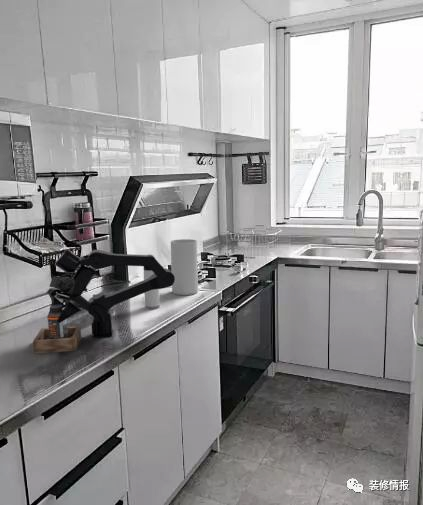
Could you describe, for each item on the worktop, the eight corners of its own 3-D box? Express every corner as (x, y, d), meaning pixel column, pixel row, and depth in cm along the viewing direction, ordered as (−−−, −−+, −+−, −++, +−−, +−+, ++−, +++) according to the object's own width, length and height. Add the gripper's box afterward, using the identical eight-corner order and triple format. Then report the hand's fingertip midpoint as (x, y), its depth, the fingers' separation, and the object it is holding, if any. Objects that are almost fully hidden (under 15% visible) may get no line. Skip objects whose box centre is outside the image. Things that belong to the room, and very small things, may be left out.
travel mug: (163, 306, 199) (161, 260, 196) (153, 310, 194) (151, 263, 191) (151, 304, 203) (149, 259, 199) (142, 308, 197) (140, 262, 194)
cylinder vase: (175, 289, 230) (173, 239, 226) (200, 289, 228) (199, 239, 224) (169, 295, 218) (167, 242, 214) (195, 295, 216) (194, 243, 212)
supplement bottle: (45, 341, 153) (42, 307, 151) (58, 335, 158) (54, 303, 156) (60, 342, 150) (56, 308, 149) (72, 336, 156) (68, 304, 154)
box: (81, 337, 162) (80, 326, 161) (75, 350, 149) (74, 338, 149) (42, 339, 160) (41, 328, 159) (33, 353, 147) (32, 341, 147)
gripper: (49, 265, 160) (21, 303, 153) (79, 271, 147) (50, 312, 141) (71, 282, 167) (45, 319, 160) (101, 290, 154) (75, 330, 148)
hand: (53, 320), depth 152 cm, fingers closed on supplement bottle, 6 cm apart
